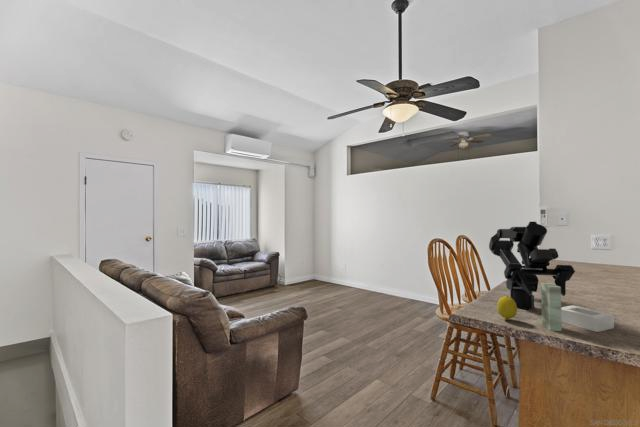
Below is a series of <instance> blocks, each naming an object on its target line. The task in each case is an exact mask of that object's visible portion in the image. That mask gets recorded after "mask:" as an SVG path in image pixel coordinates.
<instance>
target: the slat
mask: <svg viewBox="0 0 640 427" xmlns="http://www.w3.org/2000/svg"><path fill="white" fill-rule="evenodd" d="M540 285H541V286H540V289H541V290H540V292H541V293H540V294H541V296H540V297H541V298H540V299H541V325H542V326H543V327H545V328H546V329H547V330H548V331H554V332H555V331H556V332H562V330H563V328H562V326H563V325H562V323H563V322H562V319H561V307H562V294H561V287H559V286H557V285H556V284H554V283H551V282H550V283H549V282H547V283H546V282H541V283H540Z"/></svg>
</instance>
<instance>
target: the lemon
mask: <svg viewBox="0 0 640 427" xmlns="http://www.w3.org/2000/svg"><path fill="white" fill-rule="evenodd" d="M496 310H497V311H498V314H499V315H500V316H501V317H502V318H504V319H505V320H507V321H509V320H510V319H513V318H515V317H516V315H517V313H518V308H517V306H516V303H515V301H514V300H513V299H512V298H511V296H509V295H504V296H502V297H500V298H499V299H498V301H497V303H496Z"/></svg>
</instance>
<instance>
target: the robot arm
mask: <svg viewBox="0 0 640 427" xmlns="http://www.w3.org/2000/svg"><path fill="white" fill-rule="evenodd" d="M547 233H548V229H547V228H546V226H544V225H542V224H539V223H538V222H537V221H529V222H528V225H527V224H526V226H511V227H510V228H498V229H497V231H496V233H495V234H494V235H493V236H491V237H490V240H489V243H488V248H489V251H491V253H492V254H493V255H495V256H497V257H499V258H500V259H501V261H502V262H503V264H504V265H505V268H504V270H503V271H504V272H503V274H504V275H503V276H504V278H505V279H506V282H505V284H506V285H505V286H506V289H508V290H509V291H510V298H512V299H513V300H514V301H515V303H516V306H517V309H523V310H531V309H533V308H535V295H533V292H535V293H537V291H538V287H539V278H538V276H552V278H553V279H554V282H553V283H555V285H557V286H559V287H561V296H563V297H565V296H566V293H567V292H566V291H567V290H566V282H568V281H570V280H571V279H572V277H573V275H574V274H575V272H576V271H575V268H574V267H573V265H571V264H556V265H555V267H554V268H547V267H549V266H550V264H551V263H550V262H551V261H553V260H556V259H558V258H559V253H558V250H557V249H556V248H553V247H552V248H547V249H546V248H544V249H543V248H542V249H541V248H539V246H541V245H542V243H543V242H544V239H545V237H546V235H547ZM502 239H506V240H502ZM508 239H509V240H508ZM515 243H517V246H516V247H517V250H516V252H517V253H519V256H520V257H521V259H522V260H521V262H520V261H519V259H518V258H517V257H516V256H515V254H514V253H513V252H512V250H513V248H514V245H515Z"/></svg>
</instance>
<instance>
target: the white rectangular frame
mask: <svg viewBox="0 0 640 427" xmlns="http://www.w3.org/2000/svg"><path fill="white" fill-rule="evenodd" d="M614 316H615V315H614V314H613V313H607V312H603V311H600V310H596V309H591V308H586V307H582V306H578V305H574V304H573V305H567V306H561V319H562V323H564V324H568V325H571V326H575V327H579V328H581V329H585V330H588V331H591V332H592V331H593V332H596V333H600V332H603V331H607V330H612V329H614V328H615V318H614Z"/></svg>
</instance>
